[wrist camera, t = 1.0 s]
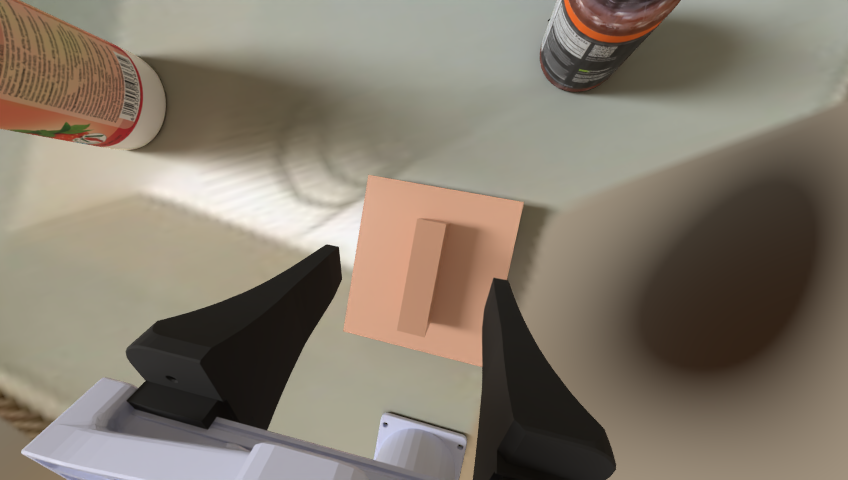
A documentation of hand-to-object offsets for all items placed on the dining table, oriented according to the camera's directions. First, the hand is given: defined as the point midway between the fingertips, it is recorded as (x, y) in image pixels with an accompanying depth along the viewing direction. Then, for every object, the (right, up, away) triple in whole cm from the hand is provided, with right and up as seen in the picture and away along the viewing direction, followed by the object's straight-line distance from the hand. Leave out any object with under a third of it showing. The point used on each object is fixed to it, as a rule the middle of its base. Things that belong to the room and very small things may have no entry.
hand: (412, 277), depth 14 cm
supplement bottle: (+12, +16, +10) cm, 23 cm away
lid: (+1, -1, +10) cm, 11 cm away
